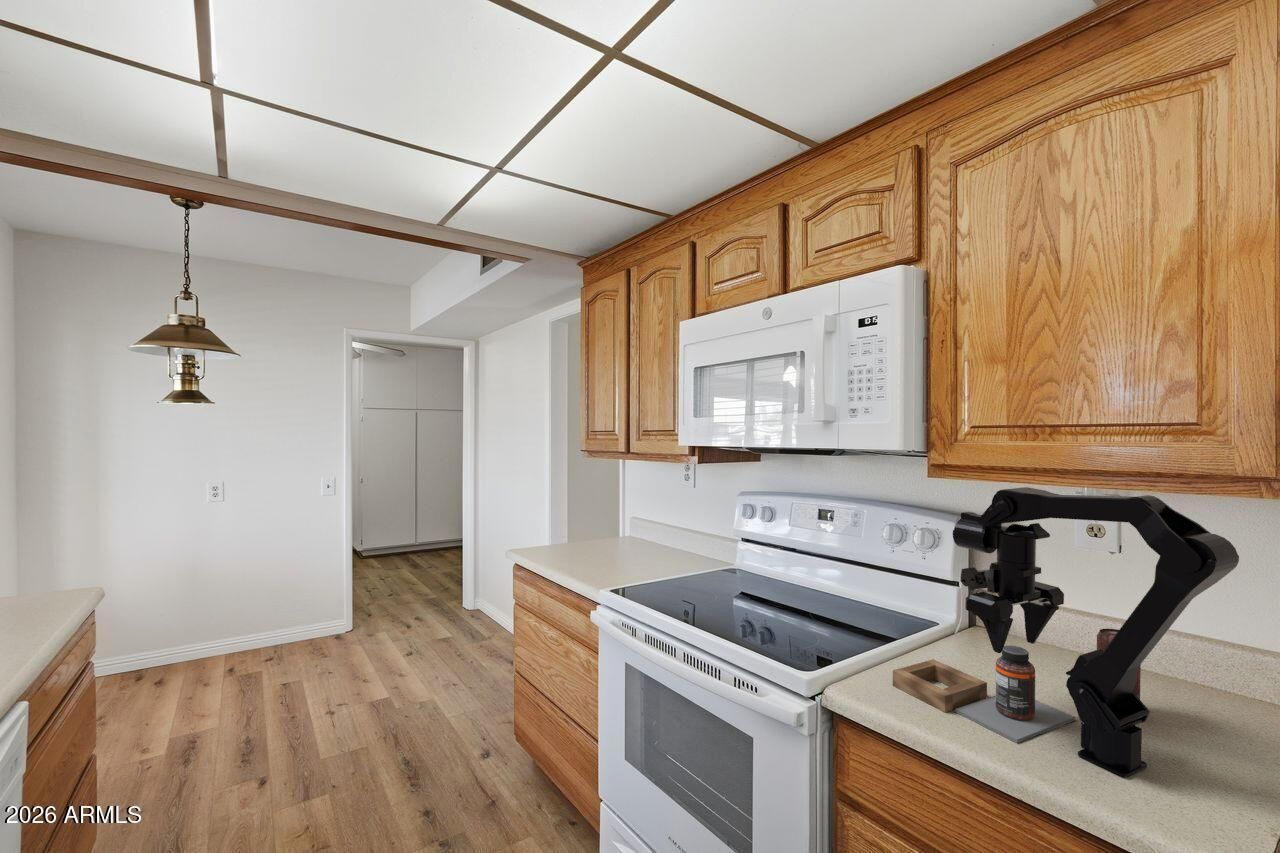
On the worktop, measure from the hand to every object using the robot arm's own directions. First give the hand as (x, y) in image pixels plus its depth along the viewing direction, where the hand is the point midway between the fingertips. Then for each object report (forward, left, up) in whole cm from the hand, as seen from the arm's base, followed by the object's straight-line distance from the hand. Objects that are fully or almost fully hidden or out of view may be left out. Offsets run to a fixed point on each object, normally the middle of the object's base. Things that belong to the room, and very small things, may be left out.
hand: (1014, 647), depth 105 cm
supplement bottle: (0, 0, -12) cm, 12 cm away
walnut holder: (+12, +4, -12) cm, 18 cm away
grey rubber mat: (0, 0, -12) cm, 12 cm away
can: (-7, -18, -12) cm, 23 cm away
